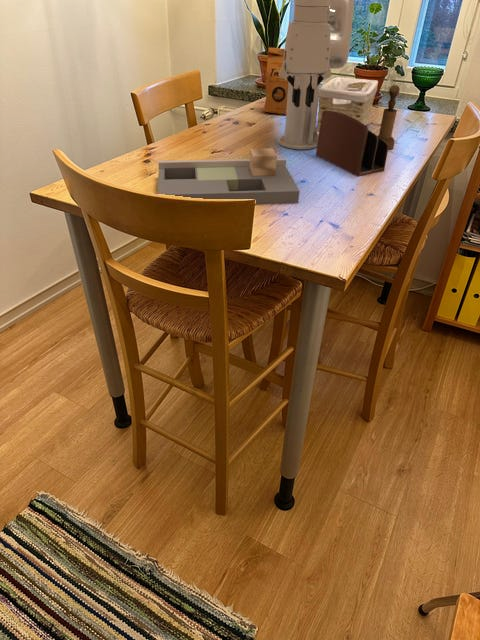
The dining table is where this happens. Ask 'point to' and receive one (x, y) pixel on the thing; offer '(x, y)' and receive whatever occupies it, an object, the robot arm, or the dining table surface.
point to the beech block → (263, 162)
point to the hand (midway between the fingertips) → (302, 105)
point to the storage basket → (347, 98)
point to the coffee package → (275, 83)
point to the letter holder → (350, 144)
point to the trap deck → (226, 181)
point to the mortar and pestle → (389, 118)
